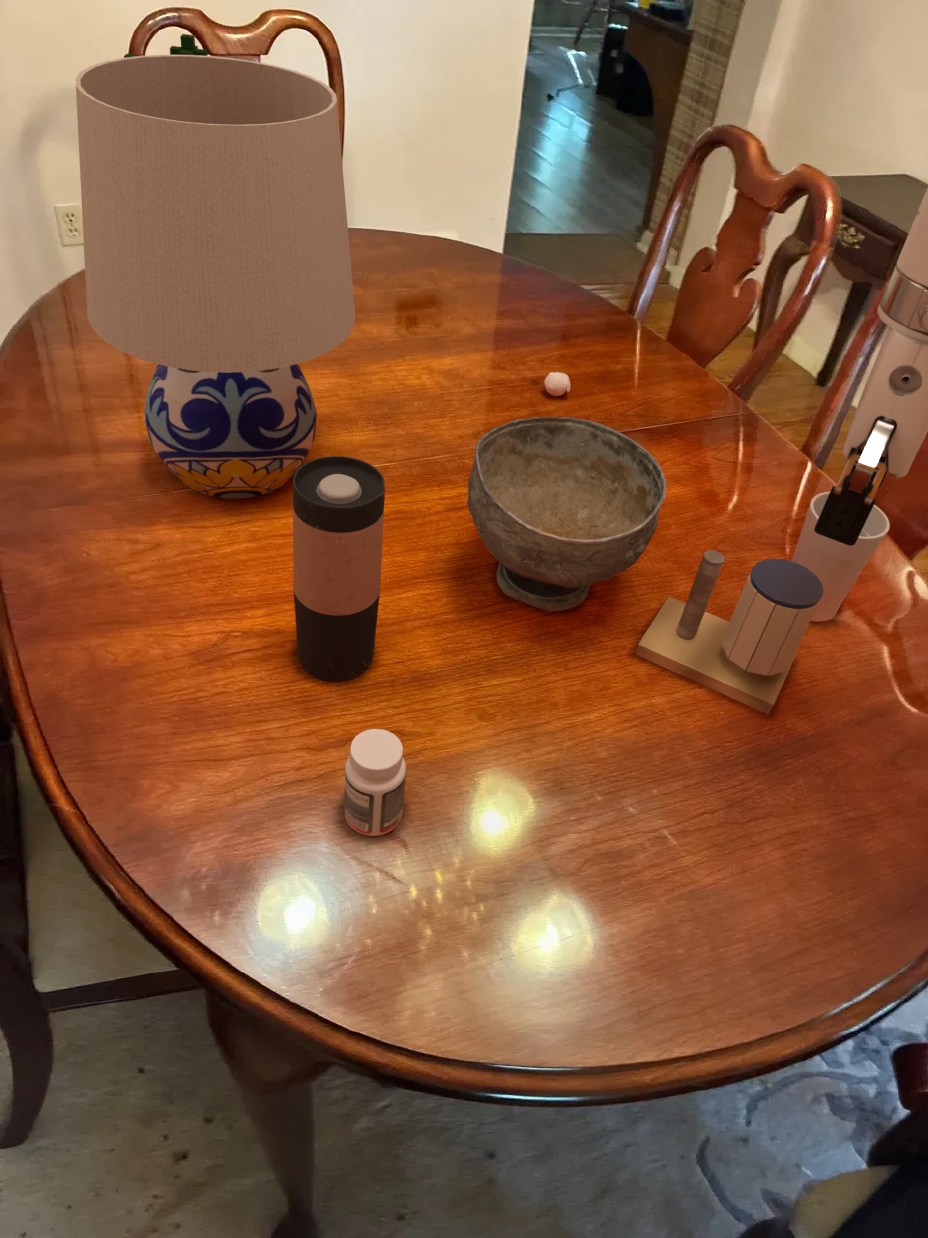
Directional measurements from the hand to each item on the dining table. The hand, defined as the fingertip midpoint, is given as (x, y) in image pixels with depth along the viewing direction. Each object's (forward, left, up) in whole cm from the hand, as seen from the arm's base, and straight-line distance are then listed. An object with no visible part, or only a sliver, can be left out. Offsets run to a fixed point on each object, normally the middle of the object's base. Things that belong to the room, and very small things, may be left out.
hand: (847, 508), depth 75 cm
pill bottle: (+23, +32, -23) cm, 46 cm away
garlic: (+42, -41, -23) cm, 63 cm away
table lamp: (+64, 0, -23) cm, 68 cm away
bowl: (+24, -3, -23) cm, 34 cm away
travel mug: (+36, +19, -23) cm, 47 cm away
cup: (-1, -18, -23) cm, 29 cm away
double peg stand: (+5, -3, -23) cm, 24 cm away
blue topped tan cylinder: (+2, -3, -20) cm, 20 cm away
